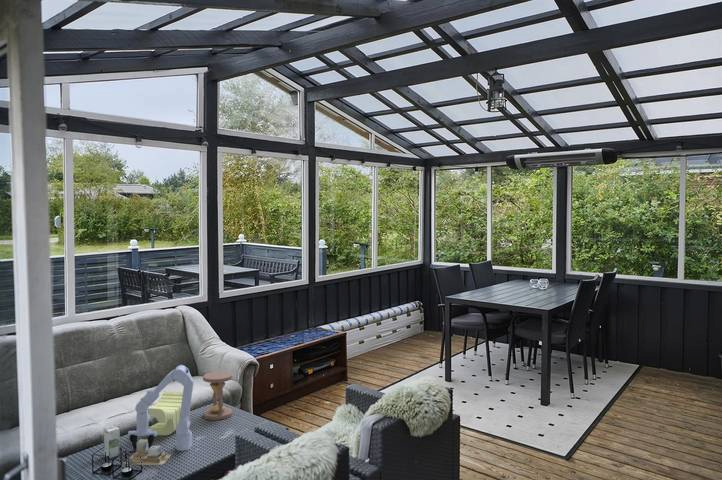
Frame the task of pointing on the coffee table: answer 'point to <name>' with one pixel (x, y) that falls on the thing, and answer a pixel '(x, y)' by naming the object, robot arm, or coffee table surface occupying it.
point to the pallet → (148, 459)
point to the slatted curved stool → (166, 412)
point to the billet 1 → (142, 445)
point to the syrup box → (112, 441)
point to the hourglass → (217, 385)
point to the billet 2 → (154, 451)
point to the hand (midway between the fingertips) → (142, 449)
